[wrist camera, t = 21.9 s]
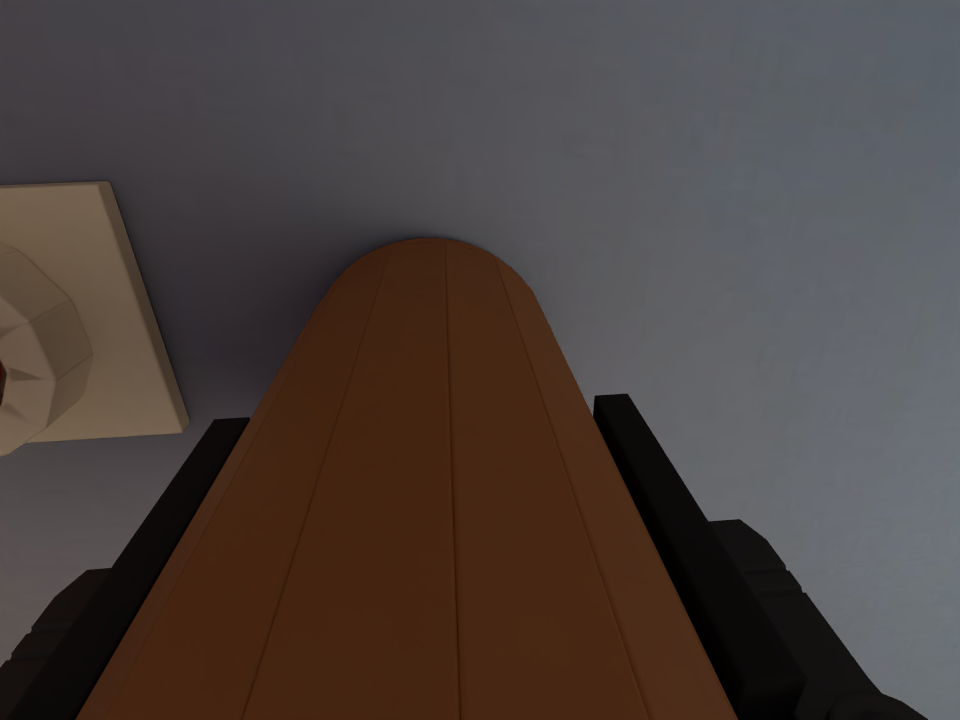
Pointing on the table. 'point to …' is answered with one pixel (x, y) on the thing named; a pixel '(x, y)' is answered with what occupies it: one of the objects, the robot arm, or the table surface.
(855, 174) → the table surface
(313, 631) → the brown bottle
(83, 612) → the robot arm
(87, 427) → the cream button plate
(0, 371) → the power button
